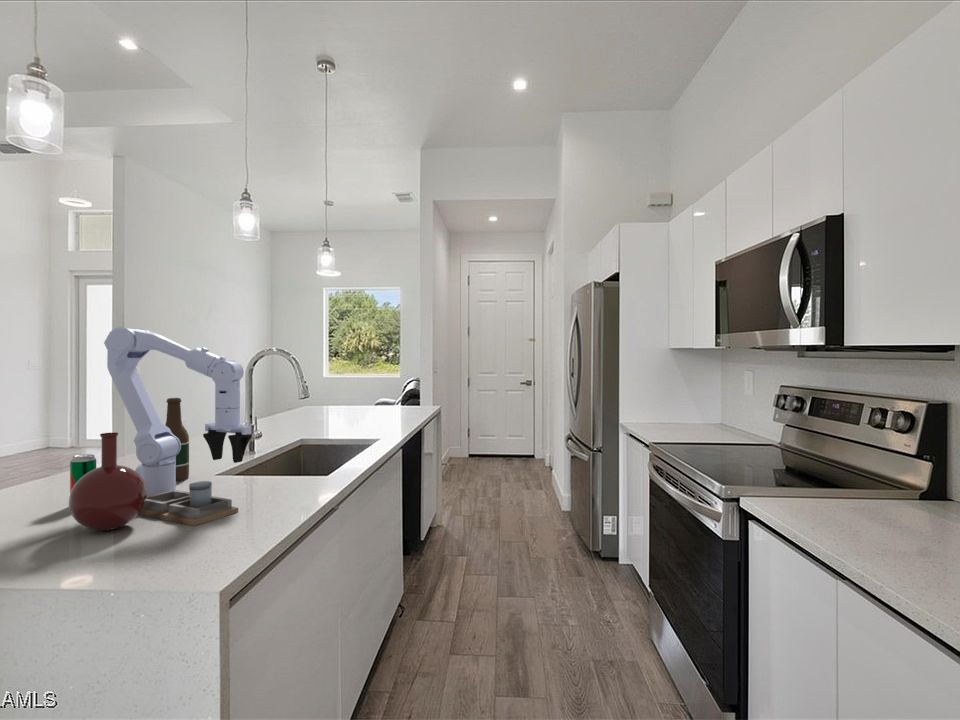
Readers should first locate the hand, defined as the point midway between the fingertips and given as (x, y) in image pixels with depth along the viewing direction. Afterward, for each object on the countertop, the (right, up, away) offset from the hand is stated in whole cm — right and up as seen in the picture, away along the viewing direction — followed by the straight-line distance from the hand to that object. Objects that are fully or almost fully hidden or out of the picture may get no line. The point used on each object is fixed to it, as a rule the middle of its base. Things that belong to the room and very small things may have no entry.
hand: (227, 460), depth 130 cm
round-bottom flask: (-13, -10, -24) cm, 29 cm away
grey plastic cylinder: (+1, -8, -15) cm, 17 cm away
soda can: (-31, -10, -8) cm, 33 cm away
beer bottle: (-25, -9, +18) cm, 32 cm away
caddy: (-4, -9, -13) cm, 16 cm away
